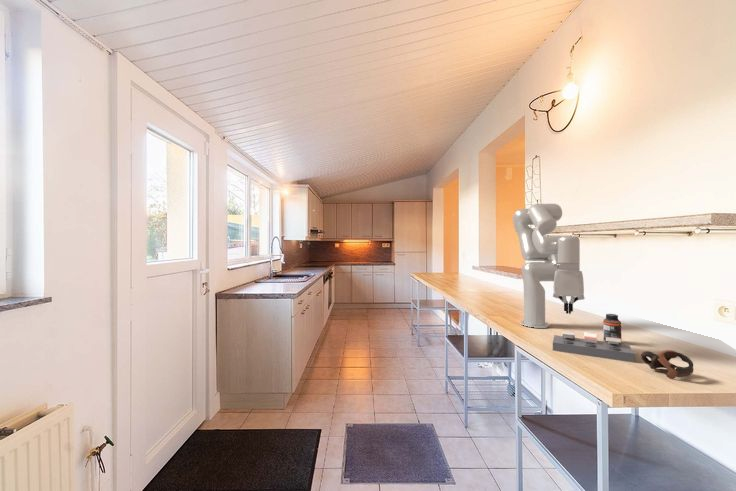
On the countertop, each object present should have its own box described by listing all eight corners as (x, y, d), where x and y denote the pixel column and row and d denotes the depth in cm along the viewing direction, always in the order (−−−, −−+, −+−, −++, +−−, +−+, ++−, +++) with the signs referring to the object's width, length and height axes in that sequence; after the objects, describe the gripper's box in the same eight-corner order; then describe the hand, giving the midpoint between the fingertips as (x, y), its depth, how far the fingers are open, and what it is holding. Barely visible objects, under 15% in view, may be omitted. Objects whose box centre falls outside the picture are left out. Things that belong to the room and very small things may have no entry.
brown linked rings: (685, 373, 101) (696, 355, 97) (686, 395, 95) (697, 377, 91) (637, 356, 108) (645, 338, 104) (634, 375, 102) (643, 358, 98)
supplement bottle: (615, 340, 135) (615, 313, 135) (625, 344, 129) (625, 316, 129) (600, 339, 136) (599, 313, 136) (609, 344, 130) (609, 316, 130)
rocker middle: (583, 336, 126) (583, 331, 126) (596, 337, 124) (596, 332, 124) (584, 343, 122) (584, 338, 121) (597, 345, 119) (597, 339, 119)
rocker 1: (562, 338, 129) (562, 333, 130) (574, 340, 127) (574, 334, 128) (562, 335, 125) (562, 330, 125) (574, 337, 123) (574, 331, 123)
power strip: (554, 342, 132) (554, 334, 132) (629, 352, 119) (629, 343, 119) (552, 350, 122) (552, 341, 122) (634, 362, 109) (634, 352, 109)
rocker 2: (606, 342, 122) (605, 337, 122) (619, 344, 120) (619, 338, 120) (607, 343, 117) (607, 336, 118) (621, 344, 115) (620, 338, 115)
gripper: (546, 267, 129) (546, 312, 129) (591, 268, 121) (591, 317, 121) (547, 266, 136) (547, 309, 136) (590, 267, 128) (590, 313, 128)
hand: (568, 313), depth 128 cm, fingers closed
